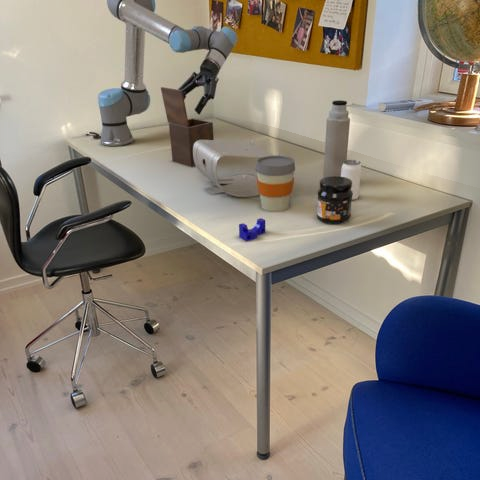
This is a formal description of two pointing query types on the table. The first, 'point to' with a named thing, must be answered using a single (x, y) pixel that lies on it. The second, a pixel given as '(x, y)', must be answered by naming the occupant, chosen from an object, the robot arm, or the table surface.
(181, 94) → the lid
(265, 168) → the reusable coffee cup
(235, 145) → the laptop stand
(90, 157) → the table surface
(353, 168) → the can
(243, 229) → the cable holder
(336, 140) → the thermos bottle
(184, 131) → the chest
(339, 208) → the supplement container
